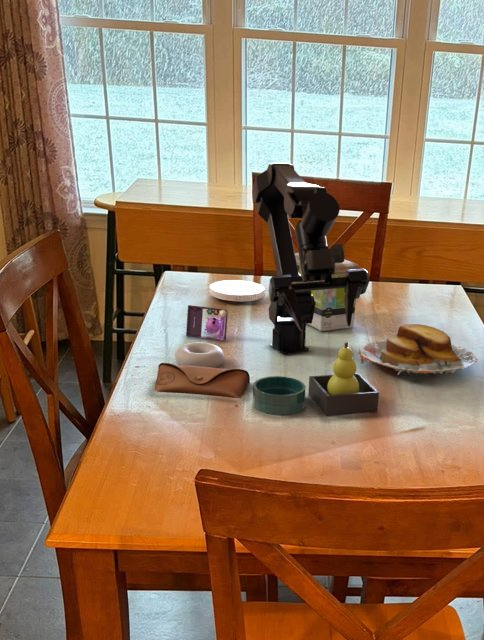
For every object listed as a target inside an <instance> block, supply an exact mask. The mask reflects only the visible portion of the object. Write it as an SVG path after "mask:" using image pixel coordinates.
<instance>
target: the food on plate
mask: <svg viewBox="0 0 484 640" xmlns="http://www.w3.org/2000/svg"><path fill="white" fill-rule="evenodd" d="M375 344H377V346H376V345H375ZM358 355H359V357H360V364H361V365H363V364H364V360H365V361H368V362H370V363H374V364H379V365H380V366H383V367H387V368H388V369H390V368H391V369H393V370H395V371H396V372H397V375H398V376H399V375H400V374H401V373H402V372H407V374H411V373H414V374H419V373H420V374H424V375H426V374H433V375H435V374H438V373H439V375H443V373H444V372H446V373H450V374H452V373H453V374H454V373H456V372H457V370H464V369H466V368H468V367H471V366H472V365H473V364H475V363H477V361H478V358H477V356H476V355H475V354H474V353H473V352H472V351H470V350H468V349H467V348H464V347H461V346H458V345H455V344H452V341H451V337H450V335H449V334H448V333H446V332H445V331H443V330H441V329H439V328H436V327H433V326H430V325H427V324H426V325H425V324H420V323H419V324H418V323H417V324H416V323H405V324H400V325H399V326H398V329H397V332H394V333H391V334H390V335H388V336H387V337H386V339H383V340H376V341H373V342H370V343H367V344H366V345H365V346H363V347H361V348H359V350H358Z"/></svg>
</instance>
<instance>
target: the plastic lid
mask: <svg viewBox="0 0 484 640" xmlns="http://www.w3.org/2000/svg"><path fill="white" fill-rule="evenodd" d="M265 294H266V287H264V285H262V284H260V283H258V282H254V281H249V280H242V279H241V280H240V279H226V280H219V281H214V282H212V283H211V284H209V295H210V296H212V297H213V298H215V299H219V300H223V301H230V302H252V301H257V300H260V299H262V298H264V297H265Z"/></svg>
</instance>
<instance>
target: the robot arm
mask: <svg viewBox="0 0 484 640" xmlns="http://www.w3.org/2000/svg"><path fill="white" fill-rule="evenodd" d="M251 195H252V197H251V198H252V202H253V203H254V204H255V207H256V211H257V214H258V215H259V217H261V218H262V220H264V222H265V223H266V224H267V229H268V234H269V240H270V246H271V250H272V255H273V260H274V265H275V270H276V271H275V272H276V275H272V276H271V277H270V279H269V284H268V297H269V301H270V304H269V307H268V319H269V320H270V321H271V323H272V324H273V325H274V327H272V338H271V339H272V341H271V343H269V347H271V348H272V349H274V350H275V351H277V352H279V353H281V354H283V356H284V355H285V356H286V355H293V354H299V353H304V352H305V353H306V352H309V351H310V348H309V347H307V346H306V339H307V337H306V335H307V323H309V324H312V320H313V315H314V309H315V305H316V302H315V301H314V297H313V295H311V291H313V290H324V289H336V288H344V291H345V293H346V294H345V297H344V301H345V312H346V321H347V325H348V327H350V325H351V319H352V312H353V306H354V301H355V299H356V300H357V299H360V297H361V296H362V295H364V294H366V291H367V290H368V287H369V283H370V276H369V272H368V270H366V268H365V267H363V268H358V269H350V270H347V272H346V275H345V277H338V278H333V277H332V274H334V273H335V267H336V266H335V263H343V262H344V261H345V260H346V257H345V249H344V245H343V243H336V244H332V245H331V248H329V246H328V241H327V236H328V234H330V232H331V230H332V228H333V226H334V224H335V222H336V220H337V218H338V216H339V214H340V210H341V209H340V208H341V207H340V204H339V202H338V201H337V199H336V198H335V197H334V196H333V195H331V194H330V193H328V192H327V188H326V187H324V186H323V187H322V186H319V185H317V184H313V183H308V182H306V181H305V180H304V179H303V178H302V177H301V176H300V174H299V173H298V172H297V171H296V170H295V165H294V164H292V163H290V162H271V163H269V164H268V166H267V168H266V170H264V171H263V172H261V173H260V174H258V175H257V176H256V177H255V180H254V182H253V185H252V191H251ZM289 219H291V220H292V219H293V220H297V219H298V220H299V221H298V222H297V223H296V224H295V227H294V239H295V240H296V241H295V242H296V246H297V253H298V254H299V260H300V266H301V272H302V276H301V275H300V274H299V272H298V266H297V261H296V256H295V253H296V250H295V246H294V242H293V237H292V231H291V226H290V220H289ZM309 324H308V325H309ZM350 328H351V327H350Z"/></svg>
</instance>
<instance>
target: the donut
mask: <svg viewBox="0 0 484 640" xmlns="http://www.w3.org/2000/svg"><path fill="white" fill-rule="evenodd" d="M174 358H175V361H176V363H177V365H184V366H199V367H211V368H219V366H221V365H222V364H223V361H224V360H225V354H224V352H223V349H221V348H220V346H218V345H215V344H212V343H209V342H201V341H199V342H198V341H197V342H188V343H185V344H182V345H180V346H179V347H178V348H177V349H176V351H175V352H174Z"/></svg>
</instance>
